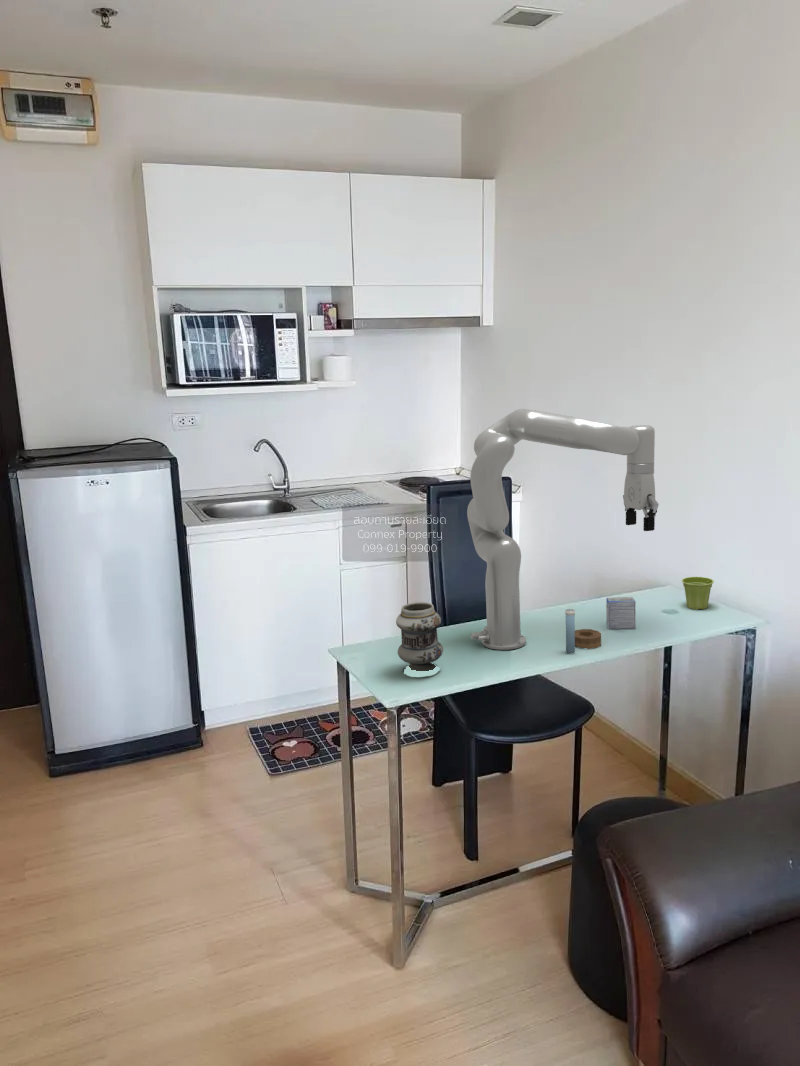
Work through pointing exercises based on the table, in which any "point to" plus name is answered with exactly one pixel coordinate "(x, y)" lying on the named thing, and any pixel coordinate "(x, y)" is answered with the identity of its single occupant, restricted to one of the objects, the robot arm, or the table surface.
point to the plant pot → (697, 591)
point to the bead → (587, 638)
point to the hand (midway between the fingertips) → (639, 527)
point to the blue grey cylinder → (570, 630)
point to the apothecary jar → (419, 635)
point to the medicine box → (621, 612)
